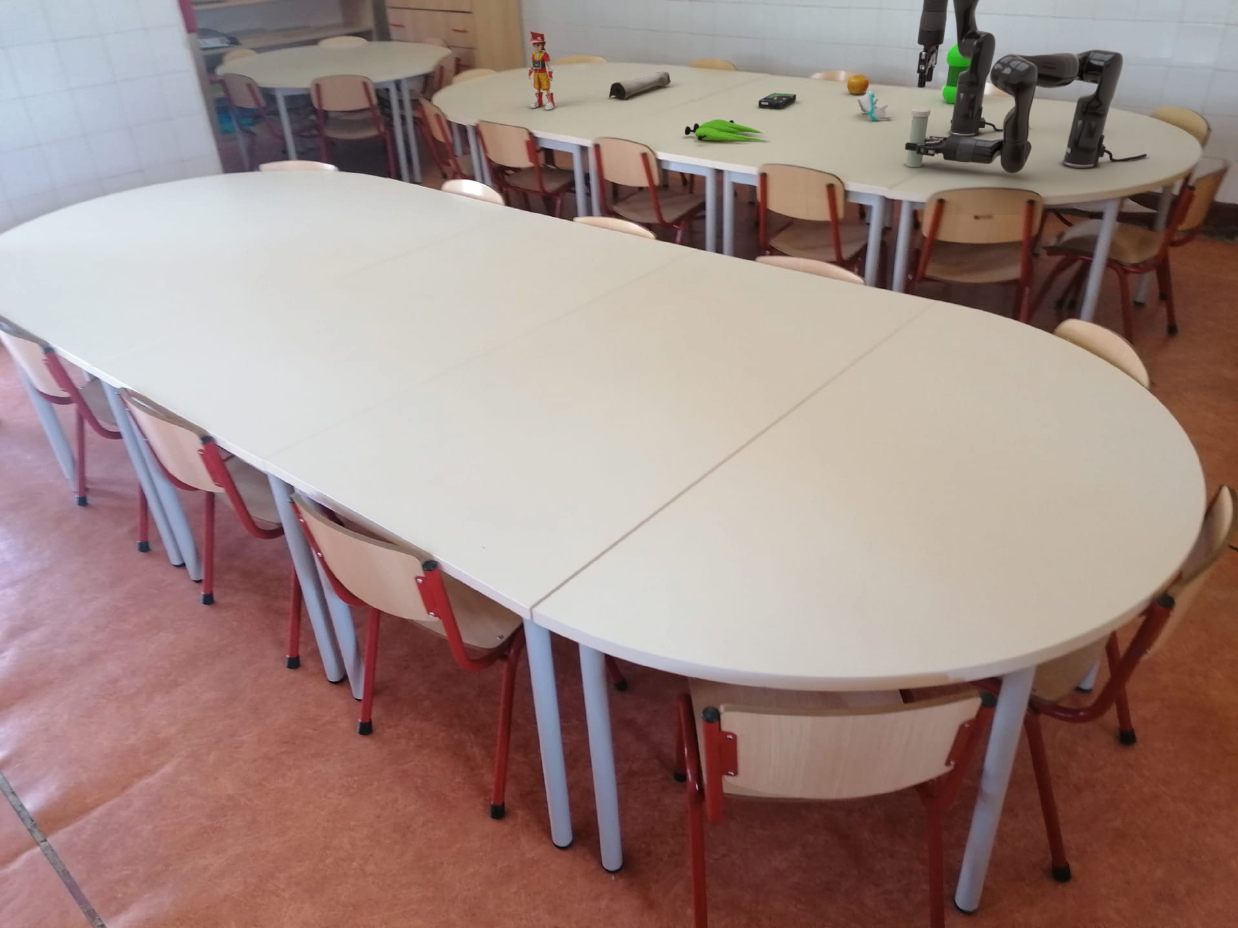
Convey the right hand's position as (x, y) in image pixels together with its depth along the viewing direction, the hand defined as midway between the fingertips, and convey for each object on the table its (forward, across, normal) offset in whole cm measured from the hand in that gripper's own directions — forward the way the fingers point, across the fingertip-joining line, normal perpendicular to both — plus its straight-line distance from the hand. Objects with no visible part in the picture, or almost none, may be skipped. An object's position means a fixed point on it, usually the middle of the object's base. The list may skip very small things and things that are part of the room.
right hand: (909, 143), depth 289 cm
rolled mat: (+139, -54, +7) cm, 150 cm away
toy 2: (+69, -5, +7) cm, 69 cm away
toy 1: (+164, -15, +7) cm, 165 cm away
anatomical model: (+32, -52, +7) cm, 61 cm away
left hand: (-2, 0, -18) cm, 18 cm away
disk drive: (+74, -56, +7) cm, 93 cm away
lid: (-2, 0, -10) cm, 10 cm away
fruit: (+51, -85, +7) cm, 99 cm away
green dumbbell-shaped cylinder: (+11, -85, +7) cm, 86 cm away
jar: (-2, 0, +7) cm, 7 cm away
